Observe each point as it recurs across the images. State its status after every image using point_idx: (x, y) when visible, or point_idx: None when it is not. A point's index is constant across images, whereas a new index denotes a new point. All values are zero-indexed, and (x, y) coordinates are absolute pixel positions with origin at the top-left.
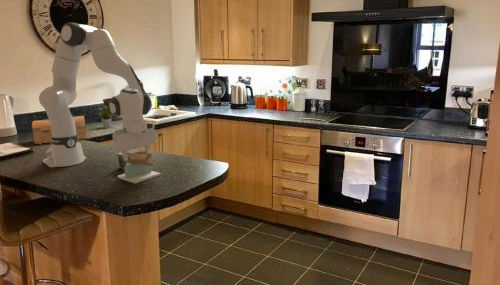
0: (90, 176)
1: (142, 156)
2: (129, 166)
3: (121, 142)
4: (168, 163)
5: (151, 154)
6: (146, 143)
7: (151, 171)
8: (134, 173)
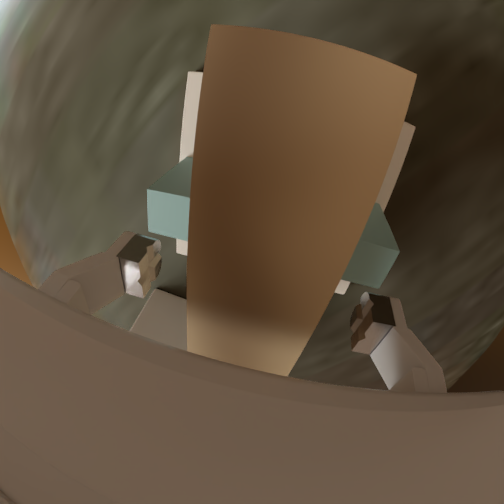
0: (345, 374)
1: (403, 110)
2: (373, 251)
3: (500, 499)
4: (53, 201)
5: (215, 27)
6: (54, 331)
7: (189, 156)
8: None
